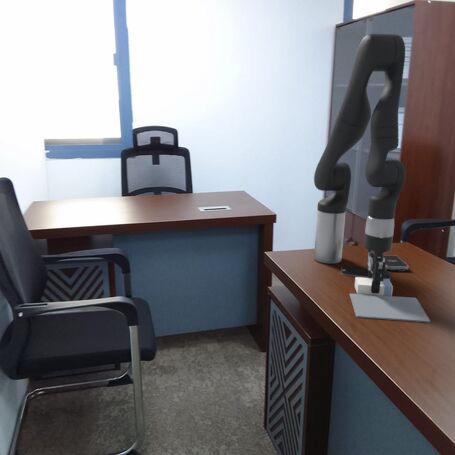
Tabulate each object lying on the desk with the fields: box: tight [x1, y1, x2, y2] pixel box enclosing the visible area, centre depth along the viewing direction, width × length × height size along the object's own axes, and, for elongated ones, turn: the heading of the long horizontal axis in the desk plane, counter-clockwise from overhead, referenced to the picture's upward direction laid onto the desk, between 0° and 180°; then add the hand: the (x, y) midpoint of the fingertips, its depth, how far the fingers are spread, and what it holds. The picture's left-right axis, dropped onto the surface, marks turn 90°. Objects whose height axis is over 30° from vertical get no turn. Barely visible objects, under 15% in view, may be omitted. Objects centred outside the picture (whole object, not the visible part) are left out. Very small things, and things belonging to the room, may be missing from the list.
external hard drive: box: [383, 254, 409, 272], centre depth 155 cm, size 7×11×2 cm, turn 1°
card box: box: [354, 276, 394, 296], centre depth 134 cm, size 10×6×3 cm, turn 83°
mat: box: [349, 293, 431, 323], centre depth 124 cm, size 14×18×1 cm
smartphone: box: [340, 265, 392, 281], centre depth 148 cm, size 8×1×15 cm
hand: (373, 288), depth 134 cm, fingers closed on card box, 5 cm apart
